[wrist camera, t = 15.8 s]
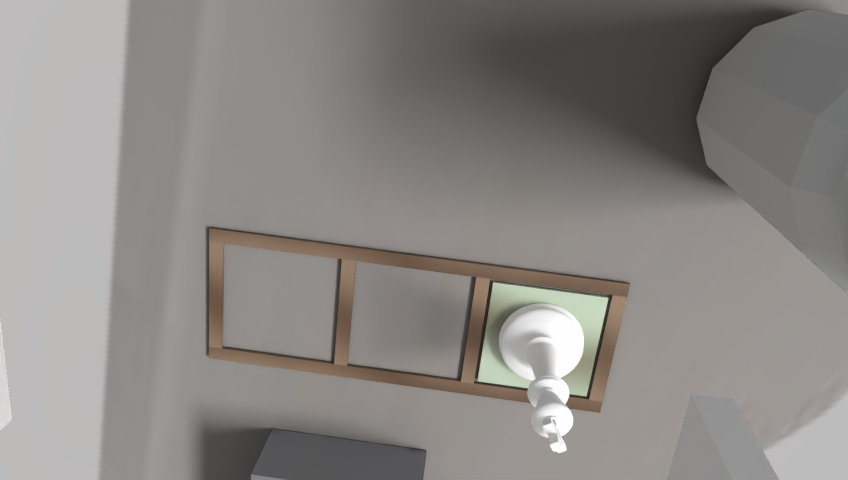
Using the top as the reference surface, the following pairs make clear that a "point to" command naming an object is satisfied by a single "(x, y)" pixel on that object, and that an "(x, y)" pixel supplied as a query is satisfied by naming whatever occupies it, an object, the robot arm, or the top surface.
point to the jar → (787, 131)
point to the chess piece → (544, 363)
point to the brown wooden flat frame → (501, 307)
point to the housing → (334, 459)
